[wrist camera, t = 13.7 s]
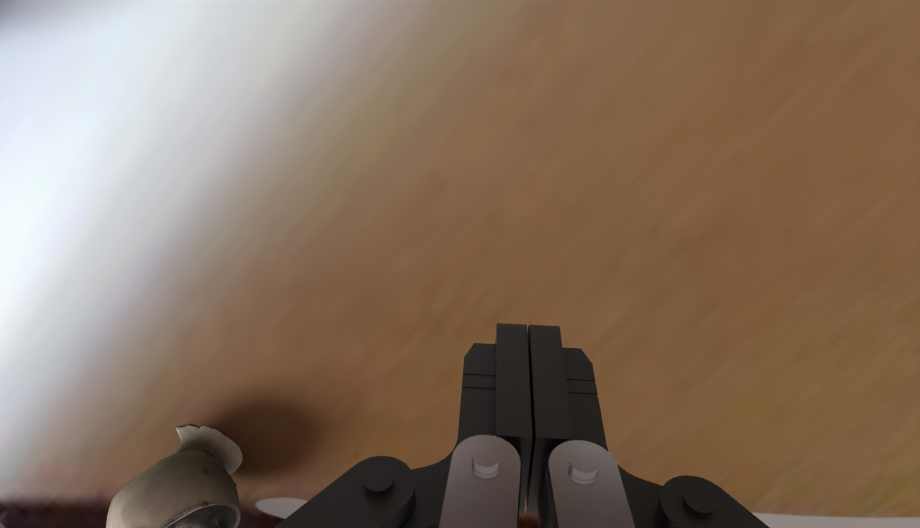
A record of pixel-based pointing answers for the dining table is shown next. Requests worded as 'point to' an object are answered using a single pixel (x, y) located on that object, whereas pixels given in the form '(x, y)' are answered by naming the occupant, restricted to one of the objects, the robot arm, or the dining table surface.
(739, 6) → the dining table surface
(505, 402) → the robot arm
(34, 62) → the dining table surface
